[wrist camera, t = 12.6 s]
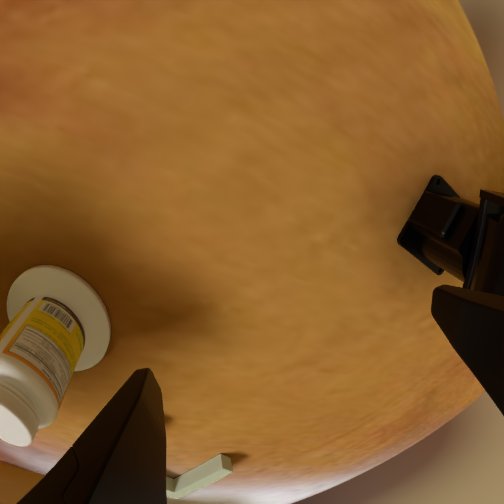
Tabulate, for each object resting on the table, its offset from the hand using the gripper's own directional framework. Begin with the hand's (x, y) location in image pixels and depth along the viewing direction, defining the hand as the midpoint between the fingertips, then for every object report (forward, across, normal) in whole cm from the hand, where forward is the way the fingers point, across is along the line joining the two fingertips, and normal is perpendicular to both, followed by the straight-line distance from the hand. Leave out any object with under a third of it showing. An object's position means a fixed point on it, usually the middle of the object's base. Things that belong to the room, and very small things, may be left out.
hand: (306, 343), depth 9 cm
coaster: (+13, +15, +4) cm, 20 cm away
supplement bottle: (+12, +15, +4) cm, 20 cm away
